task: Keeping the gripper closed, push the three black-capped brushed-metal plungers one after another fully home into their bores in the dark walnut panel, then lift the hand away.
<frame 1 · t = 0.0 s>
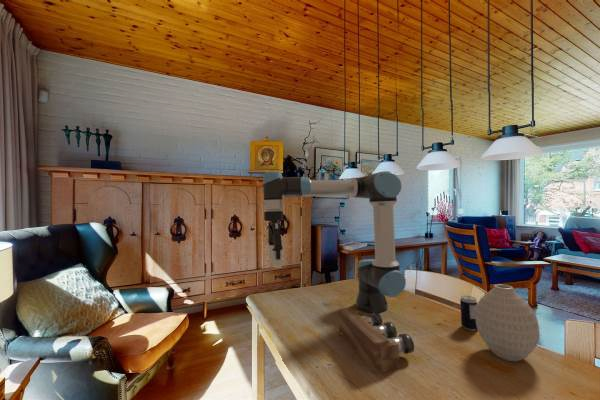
hand: (275, 264, 102), 28 cm above the table, fingers open, 13 cm apart
panel: (368, 347, 91), on the table
knob c: (396, 345, 83), point 5 cm above the table, slide at 0.0 cm
beverage can: (470, 328, 102), on the table
knob a: (368, 321, 101), point 5 cm above the table, slide at 0.0 cm
vase: (507, 355, 83), on the table
knob b: (381, 332, 92), point 5 cm above the table, slide at 0.0 cm
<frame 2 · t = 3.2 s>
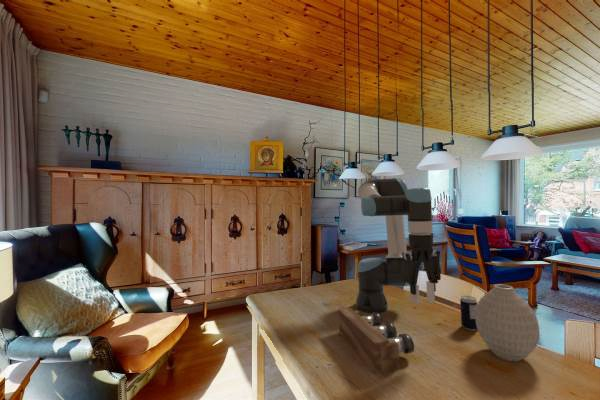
hand: (423, 302, 87), 17 cm above the table, fingers open, 5 cm apart
nothing on the table moved.
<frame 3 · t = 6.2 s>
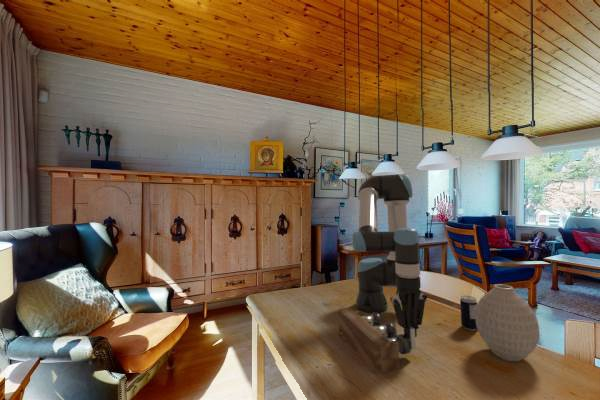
hand: (411, 347, 85), 3 cm above the table, fingers closed
knob c: (393, 345, 83), point 5 cm above the table, slide at 1.3 cm, touching gripper
everything else where it was.
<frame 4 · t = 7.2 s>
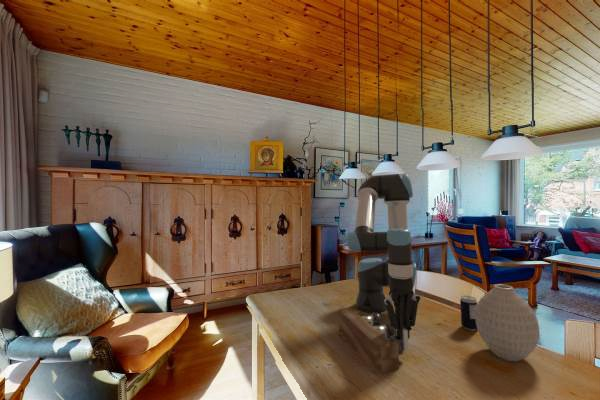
hand: (403, 348, 84), 3 cm above the table, fingers closed
knob c: (385, 347, 82), point 4 cm above the table, slide at 4.0 cm, touching gripper
everything else where it was.
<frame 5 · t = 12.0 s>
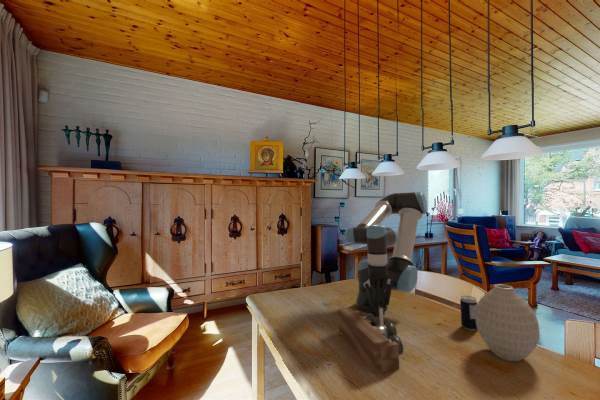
hand: (379, 323, 102), 3 cm above the table, fingers closed
knob c: (385, 347, 82), point 5 cm above the table, slide at 4.0 cm
knob a: (364, 322, 100), point 4 cm above the table, slide at 1.6 cm, touching gripper
everything else where it was.
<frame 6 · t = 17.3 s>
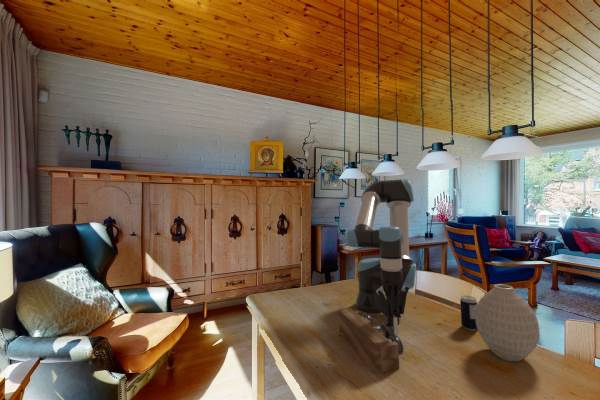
hand: (394, 334, 93), 3 cm above the table, fingers closed
knob a: (359, 323, 100), point 5 cm above the table, slide at 4.0 cm
knob b: (377, 332, 92), point 5 cm above the table, slide at 1.4 cm, touching gripper
everything else where it was.
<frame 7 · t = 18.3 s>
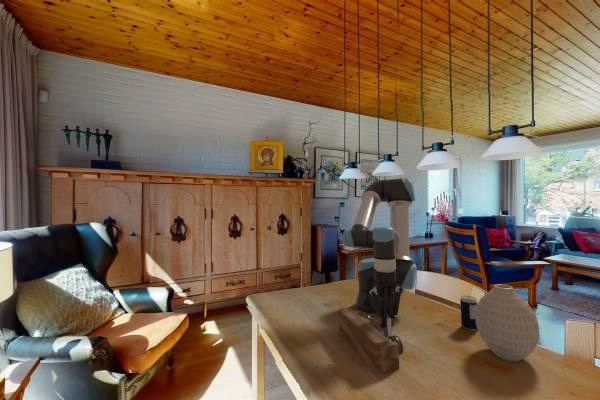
hand: (387, 335, 93), 3 cm above the table, fingers closed
knob b: (371, 333, 91), point 5 cm above the table, slide at 4.0 cm, touching gripper
everything else where it was.
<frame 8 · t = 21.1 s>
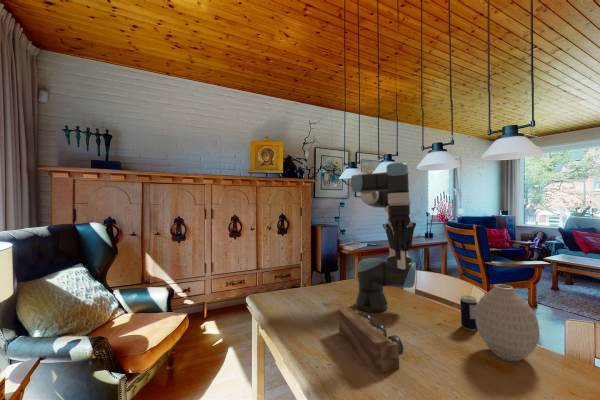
hand: (401, 268, 95), 26 cm above the table, fingers closed
knob b: (371, 333, 91), point 5 cm above the table, slide at 4.0 cm
everything else where it was.
at the end: knob a slide at 4.0 cm; knob b slide at 4.0 cm; knob c slide at 4.0 cm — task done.
